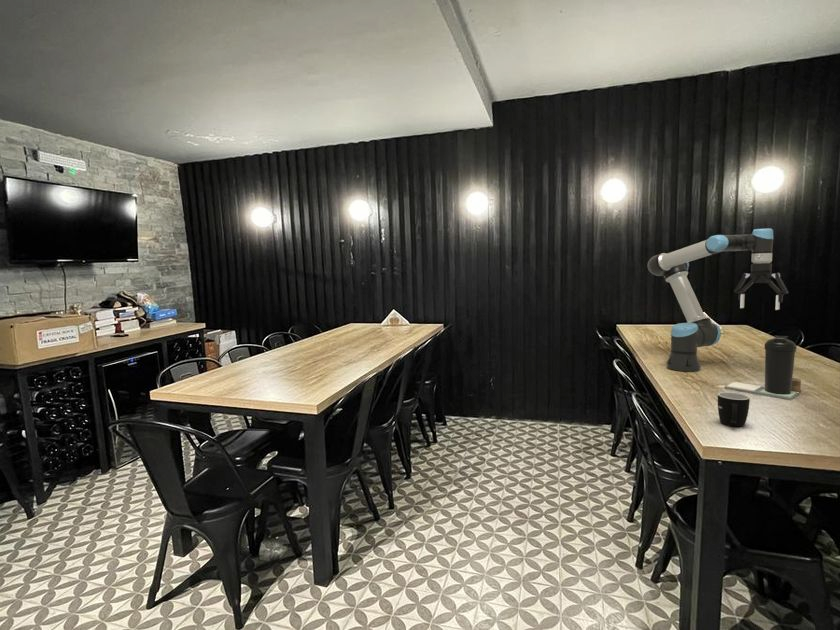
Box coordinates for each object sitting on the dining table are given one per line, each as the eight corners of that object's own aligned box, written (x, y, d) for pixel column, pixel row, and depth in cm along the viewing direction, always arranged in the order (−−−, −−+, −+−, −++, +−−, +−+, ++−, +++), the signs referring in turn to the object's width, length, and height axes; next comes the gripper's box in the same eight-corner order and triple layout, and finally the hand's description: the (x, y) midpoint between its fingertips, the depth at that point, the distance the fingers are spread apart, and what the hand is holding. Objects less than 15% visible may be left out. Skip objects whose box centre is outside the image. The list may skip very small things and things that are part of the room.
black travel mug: (794, 390, 183) (797, 335, 180) (792, 396, 176) (796, 339, 173) (763, 386, 190) (766, 334, 187) (760, 392, 182) (763, 337, 180)
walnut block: (784, 391, 187) (785, 379, 186) (784, 388, 191) (785, 377, 190) (800, 393, 184) (800, 381, 183) (799, 390, 188) (800, 378, 187)
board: (724, 388, 194) (724, 385, 193) (734, 383, 200) (734, 381, 200) (790, 400, 175) (791, 397, 175) (799, 394, 182) (799, 391, 181)
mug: (716, 418, 159) (717, 390, 158) (747, 421, 154) (748, 393, 153) (717, 429, 149) (718, 400, 148) (750, 433, 144) (752, 403, 143)
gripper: (727, 263, 211) (725, 307, 213) (793, 262, 191) (790, 311, 193) (733, 263, 215) (731, 306, 218) (798, 261, 195) (795, 309, 198)
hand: (759, 308), depth 205 cm, fingers open, 13 cm apart
